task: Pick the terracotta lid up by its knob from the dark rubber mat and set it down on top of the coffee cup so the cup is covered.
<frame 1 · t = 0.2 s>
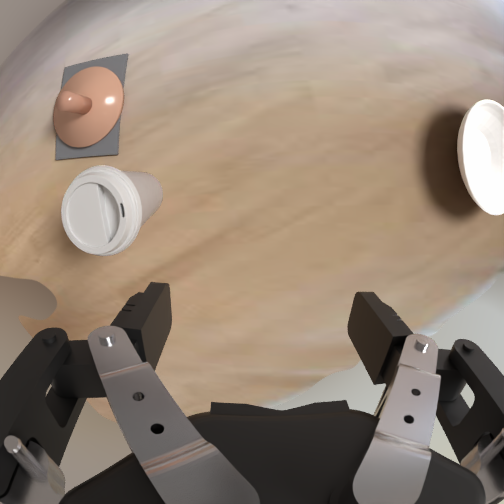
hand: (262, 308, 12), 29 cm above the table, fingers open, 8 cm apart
lid: (87, 106, 33), resting on mat
bowl: (472, 154, 37), on the table
coffee cup: (142, 194, 38), on the table
mat: (88, 106, 33), on the table
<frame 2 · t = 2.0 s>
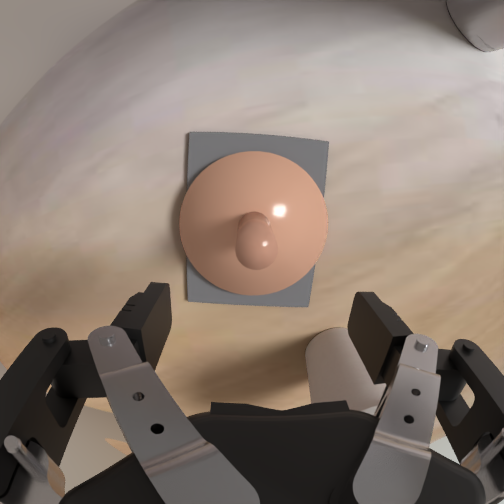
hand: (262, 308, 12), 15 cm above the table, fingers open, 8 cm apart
lid: (253, 225, 25), resting on mat
coffee cup: (332, 349, 31), on the table
mat: (253, 224, 25), on the table
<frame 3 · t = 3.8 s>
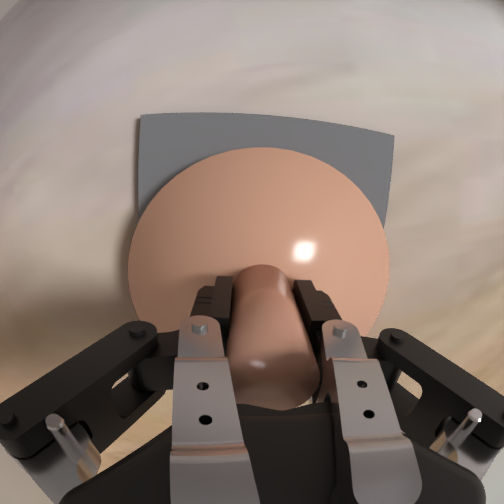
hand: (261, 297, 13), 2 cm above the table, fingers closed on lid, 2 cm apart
lid: (260, 284, 14), resting on mat, touching gripper
mat: (260, 281, 14), on the table
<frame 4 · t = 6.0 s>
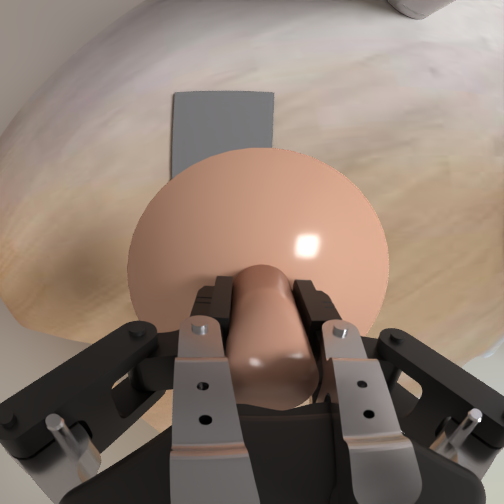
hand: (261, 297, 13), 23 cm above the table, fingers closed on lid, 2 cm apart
lid: (260, 285, 14), point 22 cm above the table, touching gripper
mat: (221, 154, 33), on the table
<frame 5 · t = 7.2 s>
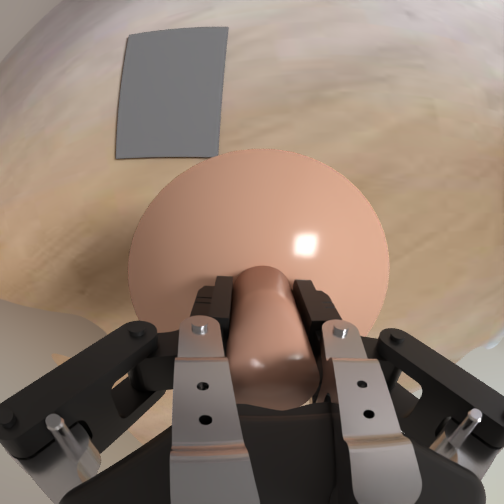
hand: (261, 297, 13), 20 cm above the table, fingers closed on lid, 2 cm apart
lid: (260, 286, 14), point 19 cm above the table, touching gripper
mat: (169, 88, 27), on the table
when the fingers open (18 cm above the table, at t = 8.2 s): lid drops 1 cm, resting on coffee cup.
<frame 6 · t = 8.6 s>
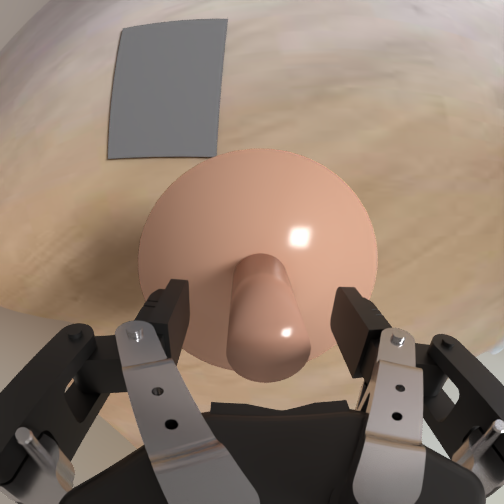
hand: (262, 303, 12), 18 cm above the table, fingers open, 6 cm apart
lid: (259, 273, 15), point 15 cm above the table, touching coffee cup
mat: (164, 84, 25), on the table
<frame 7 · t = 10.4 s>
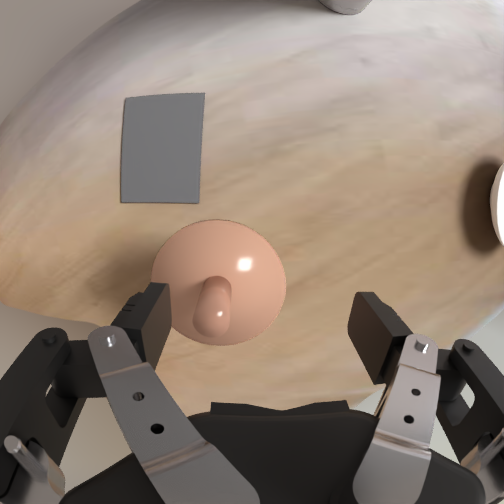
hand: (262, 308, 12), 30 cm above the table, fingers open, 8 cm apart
lid: (217, 286, 27), point 15 cm above the table, touching coffee cup
bowl: (499, 198, 41), on the table
mat: (160, 147, 37), on the table
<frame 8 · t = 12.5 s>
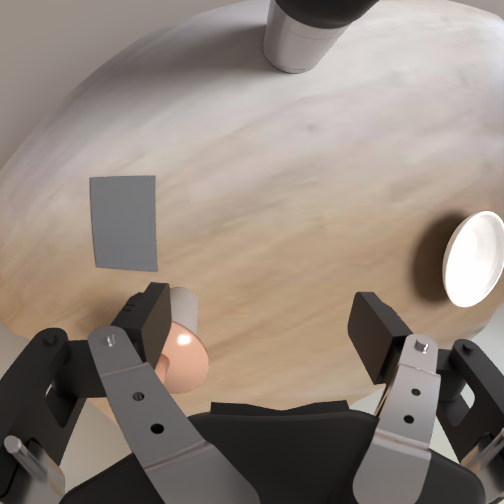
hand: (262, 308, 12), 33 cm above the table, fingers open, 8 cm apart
lid: (161, 357, 35), point 15 cm above the table, touching coffee cup
bowl: (459, 249, 47), on the table
coffee cup: (181, 303, 49), on the table, touching lid
mat: (122, 224, 44), on the table
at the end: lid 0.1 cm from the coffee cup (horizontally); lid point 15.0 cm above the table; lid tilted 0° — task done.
